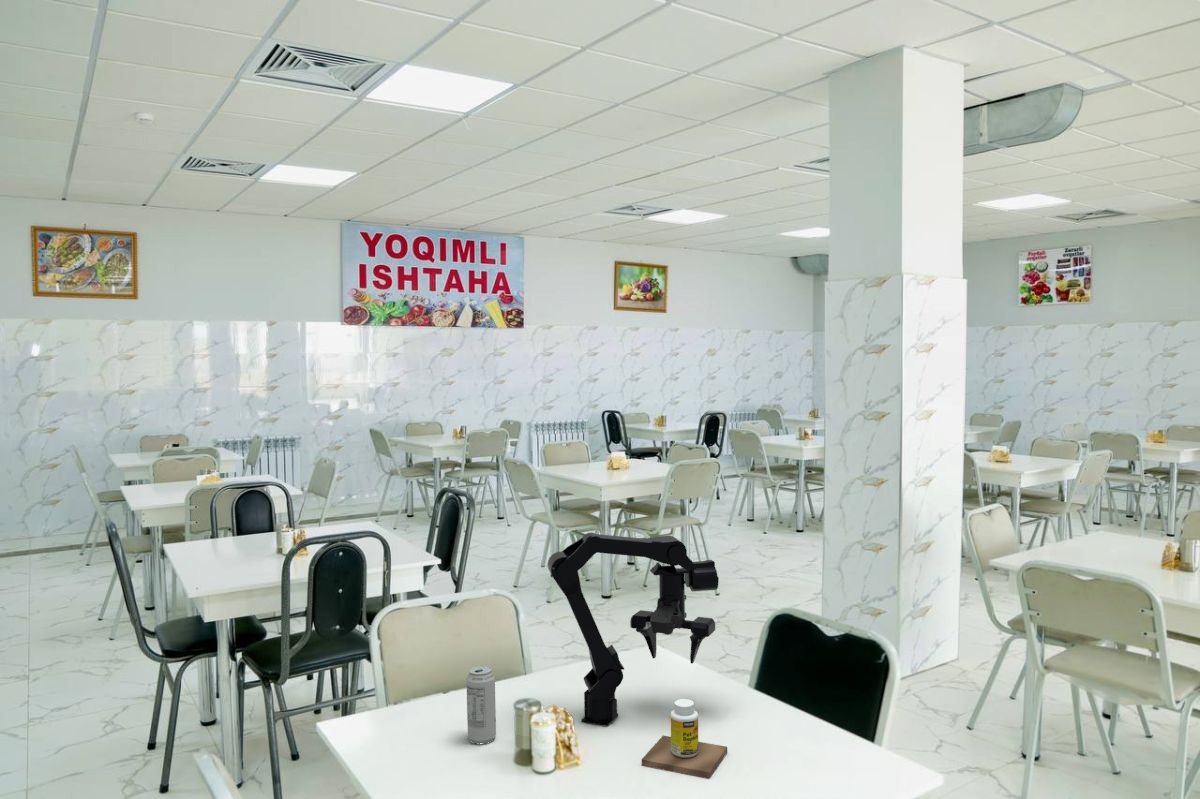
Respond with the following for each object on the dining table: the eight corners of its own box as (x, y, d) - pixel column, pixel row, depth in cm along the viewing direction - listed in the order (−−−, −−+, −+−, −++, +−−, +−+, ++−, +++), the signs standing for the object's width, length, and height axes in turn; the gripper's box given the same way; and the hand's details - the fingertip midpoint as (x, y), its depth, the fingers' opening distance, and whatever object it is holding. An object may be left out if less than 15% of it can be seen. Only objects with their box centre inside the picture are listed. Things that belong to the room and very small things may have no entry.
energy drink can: (502, 738, 181) (500, 669, 181) (480, 748, 177) (478, 677, 176) (484, 730, 185) (482, 663, 185) (462, 739, 181) (460, 670, 180)
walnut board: (641, 765, 168) (641, 759, 168) (663, 741, 179) (662, 735, 179) (709, 778, 162) (709, 772, 162) (727, 752, 173) (727, 746, 173)
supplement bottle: (682, 761, 166) (681, 710, 166) (665, 751, 171) (664, 701, 171) (704, 754, 169) (703, 703, 169) (687, 744, 174) (686, 695, 174)
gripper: (620, 597, 189) (621, 666, 190) (700, 605, 181) (701, 677, 182) (639, 585, 199) (640, 651, 200) (715, 593, 191) (716, 661, 192)
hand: (673, 660), depth 193 cm, fingers open, 9 cm apart
